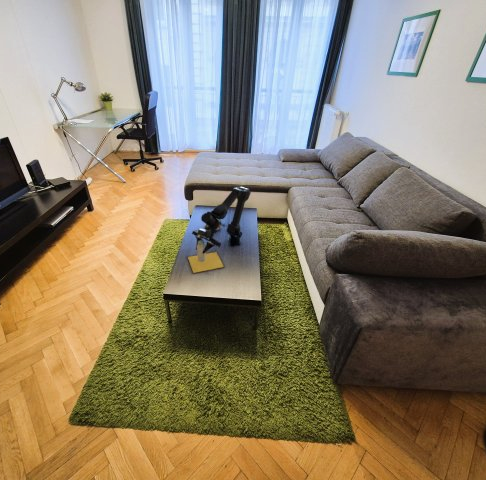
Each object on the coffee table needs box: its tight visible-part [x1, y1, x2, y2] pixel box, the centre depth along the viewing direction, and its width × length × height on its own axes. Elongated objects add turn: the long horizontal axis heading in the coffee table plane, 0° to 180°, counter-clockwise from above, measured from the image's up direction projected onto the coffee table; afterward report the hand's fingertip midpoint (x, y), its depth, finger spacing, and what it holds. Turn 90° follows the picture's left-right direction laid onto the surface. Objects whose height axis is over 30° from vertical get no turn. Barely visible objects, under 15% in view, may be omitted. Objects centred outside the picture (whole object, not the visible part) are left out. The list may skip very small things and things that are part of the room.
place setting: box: [204, 220, 232, 232], centre depth 196 cm, size 18×20×6 cm
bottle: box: [196, 239, 207, 262], centre depth 155 cm, size 5×5×12 cm
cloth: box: [187, 251, 225, 274], centre depth 164 cm, size 19×16×1 cm
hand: (199, 251), depth 153 cm, fingers closed on bottle, 5 cm apart
